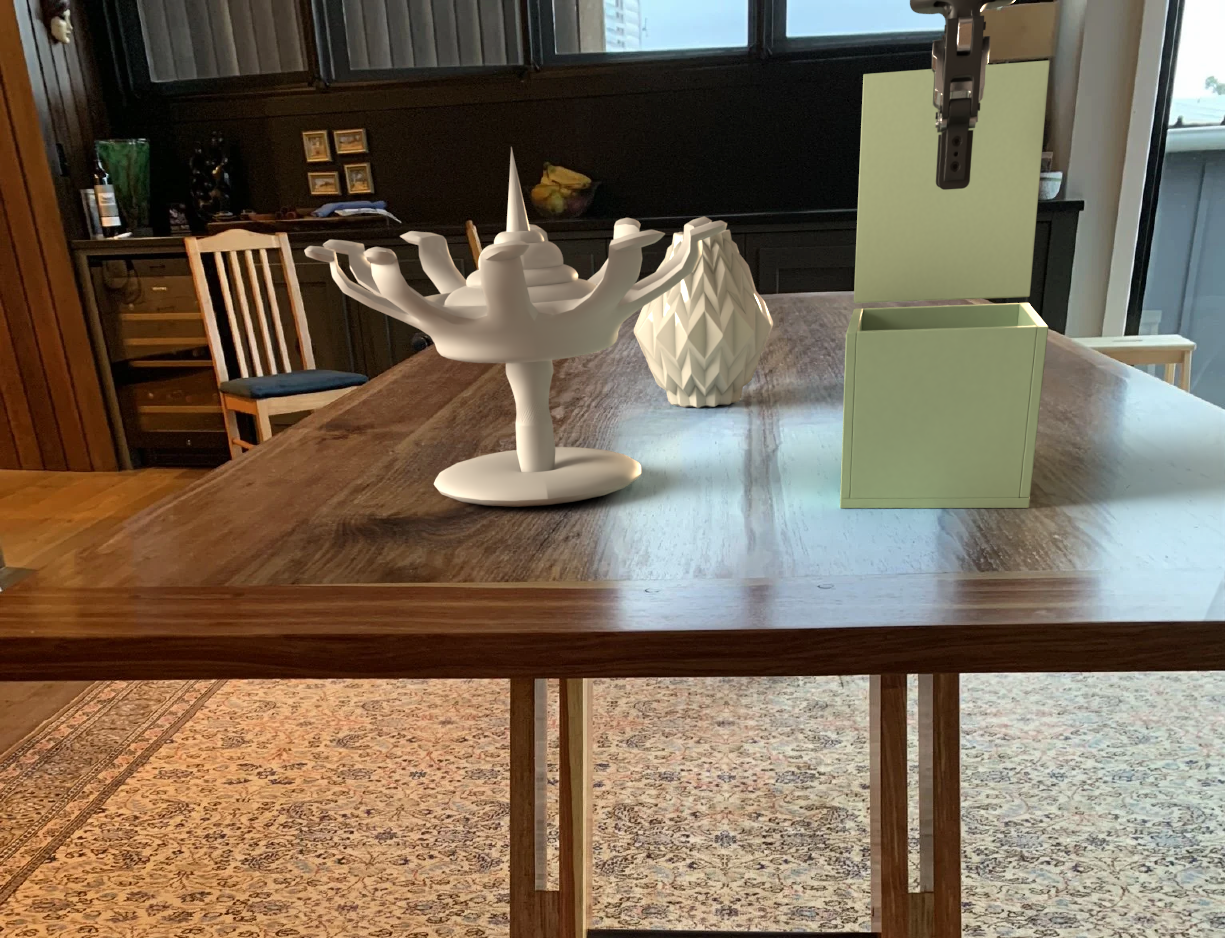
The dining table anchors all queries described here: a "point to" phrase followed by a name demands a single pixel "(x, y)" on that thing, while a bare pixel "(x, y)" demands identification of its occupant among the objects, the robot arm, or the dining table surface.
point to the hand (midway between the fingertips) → (951, 188)
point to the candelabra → (522, 337)
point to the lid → (955, 218)
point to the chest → (941, 406)
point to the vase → (706, 328)
